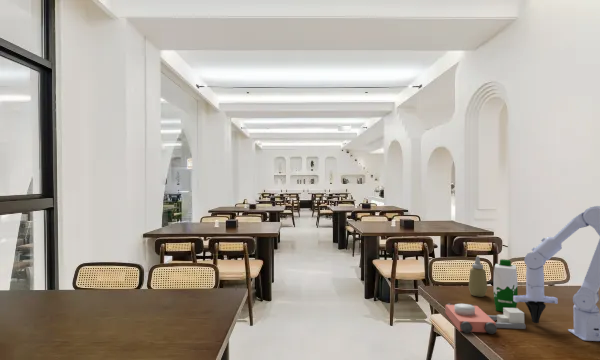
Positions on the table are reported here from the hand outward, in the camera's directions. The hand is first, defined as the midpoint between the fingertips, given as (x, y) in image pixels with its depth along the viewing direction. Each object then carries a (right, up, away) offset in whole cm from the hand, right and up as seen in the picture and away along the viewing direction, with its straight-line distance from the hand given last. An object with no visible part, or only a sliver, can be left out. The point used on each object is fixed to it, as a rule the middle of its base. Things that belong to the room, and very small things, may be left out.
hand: (535, 322), depth 147 cm
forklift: (-17, -1, +2) cm, 17 cm away
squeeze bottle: (-3, -2, +41) cm, 41 cm away
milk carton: (-2, -2, +18) cm, 18 cm away
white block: (-9, -1, +1) cm, 9 cm away
